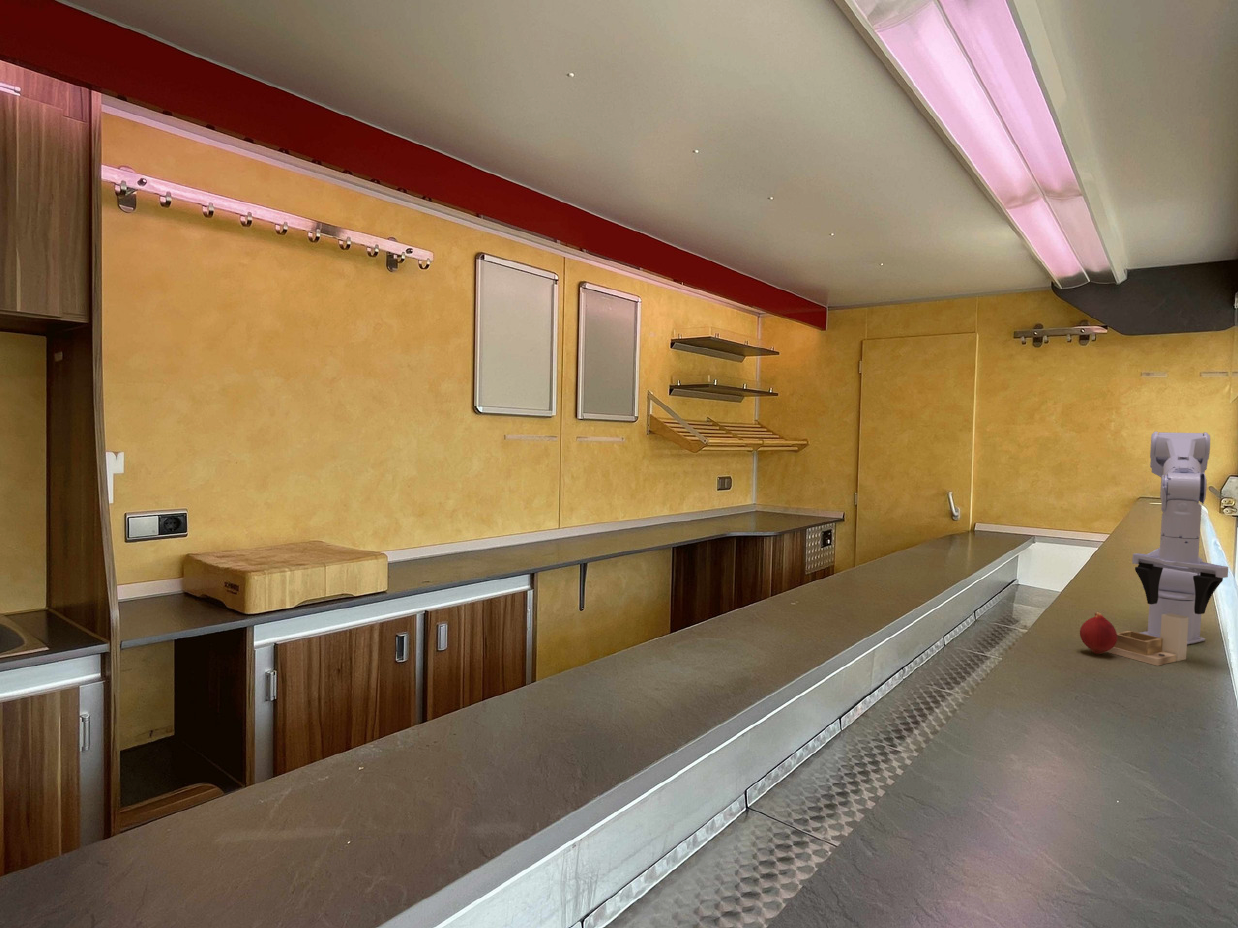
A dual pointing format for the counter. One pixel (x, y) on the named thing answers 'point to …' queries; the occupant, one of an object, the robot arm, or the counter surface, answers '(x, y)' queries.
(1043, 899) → the counter surface
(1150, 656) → the bracket
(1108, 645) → the onion
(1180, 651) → the post
